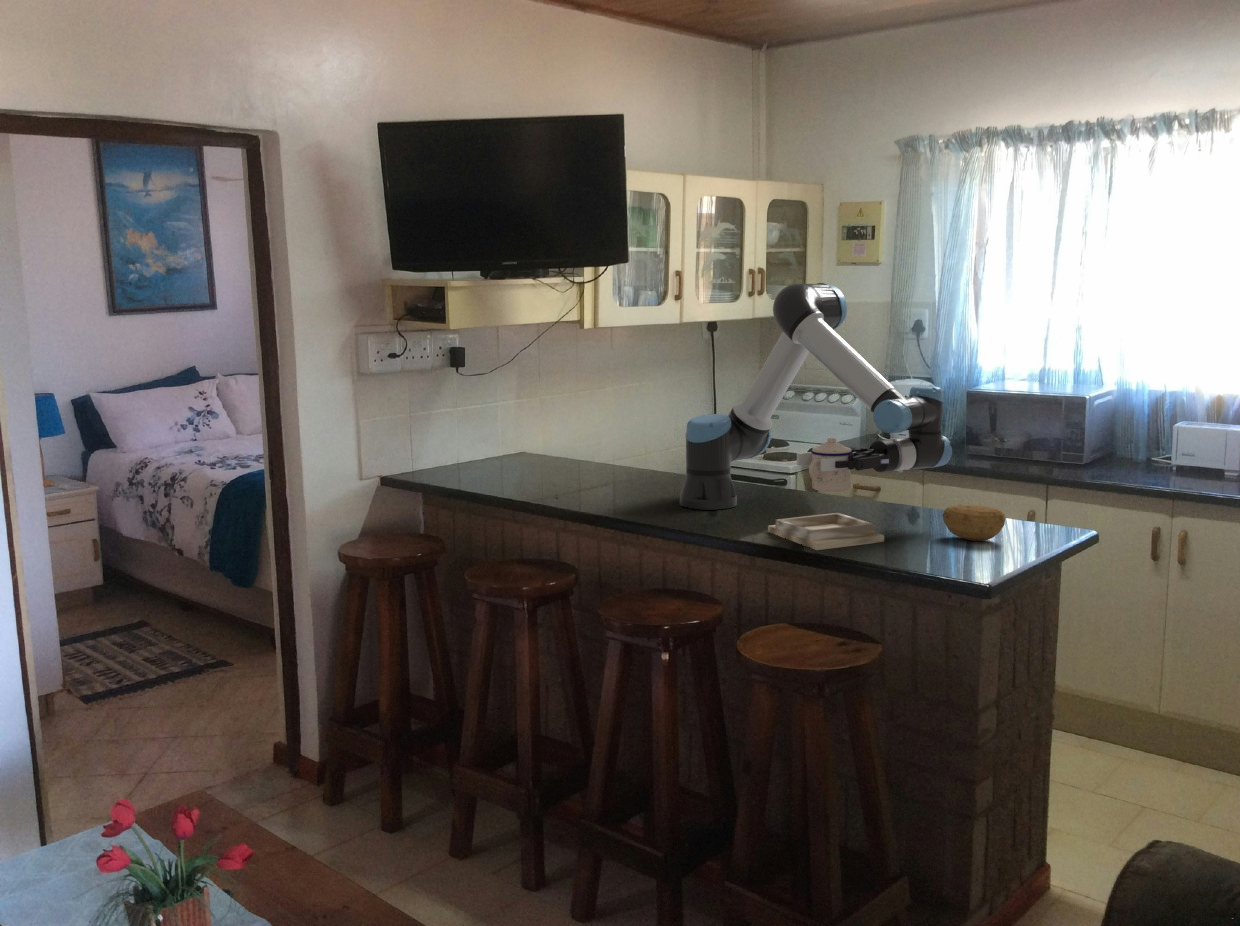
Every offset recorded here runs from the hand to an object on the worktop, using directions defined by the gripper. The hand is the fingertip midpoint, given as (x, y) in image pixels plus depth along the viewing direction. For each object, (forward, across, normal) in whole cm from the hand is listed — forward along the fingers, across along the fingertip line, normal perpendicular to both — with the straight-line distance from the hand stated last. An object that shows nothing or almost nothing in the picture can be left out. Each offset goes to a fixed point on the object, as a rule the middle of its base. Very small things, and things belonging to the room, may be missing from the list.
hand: (809, 462), depth 244 cm
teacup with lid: (-5, 0, -7) cm, 8 cm away
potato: (-32, -17, -18) cm, 41 cm away
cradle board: (-4, 0, -18) cm, 18 cm away
